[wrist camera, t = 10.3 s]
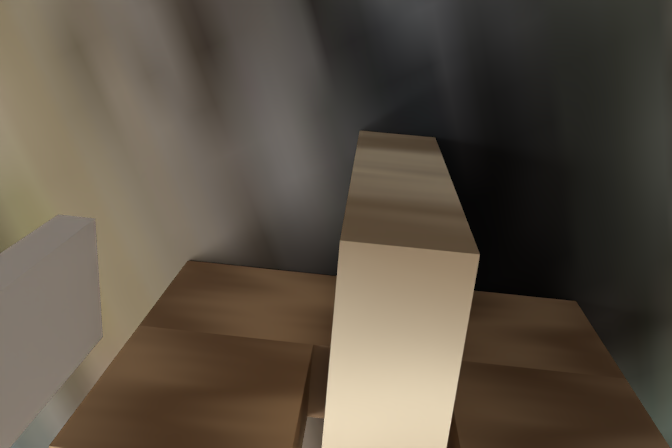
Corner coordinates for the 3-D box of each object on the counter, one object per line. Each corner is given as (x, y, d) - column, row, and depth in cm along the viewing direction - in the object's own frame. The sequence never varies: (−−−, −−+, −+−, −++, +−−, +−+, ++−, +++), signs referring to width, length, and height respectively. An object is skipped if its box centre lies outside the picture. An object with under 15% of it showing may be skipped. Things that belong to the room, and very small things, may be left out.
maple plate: (359, 130, 20) (339, 240, 11) (434, 137, 20) (480, 254, 11) (330, 448, 25) (298, 719, 16) (392, 455, 25) (397, 731, 15)
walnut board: (575, 301, 22) (719, 524, 13) (561, 361, 23) (685, 613, 13) (187, 260, 23) (48, 446, 13) (188, 321, 23) (57, 535, 14)
